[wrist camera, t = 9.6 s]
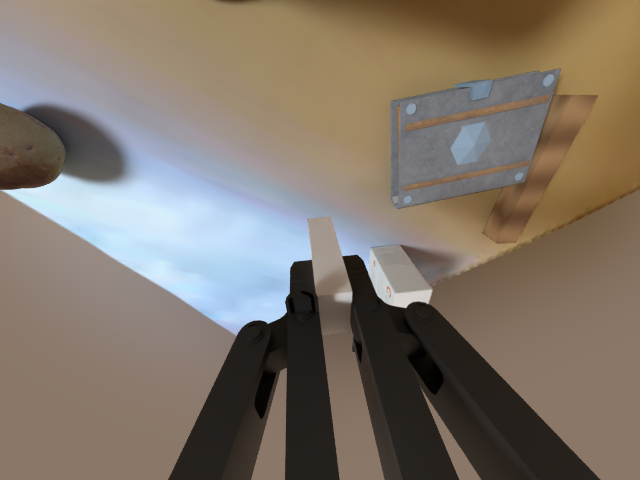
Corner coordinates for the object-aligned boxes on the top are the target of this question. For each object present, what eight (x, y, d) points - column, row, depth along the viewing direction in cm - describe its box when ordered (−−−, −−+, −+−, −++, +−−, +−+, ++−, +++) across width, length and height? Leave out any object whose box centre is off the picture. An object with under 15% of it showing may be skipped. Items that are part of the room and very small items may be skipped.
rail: (544, 95, 34) (572, 94, 31) (568, 95, 35) (598, 95, 31) (482, 233, 47) (496, 243, 44) (499, 232, 47) (515, 242, 44)
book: (390, 202, 42) (401, 214, 37) (389, 97, 33) (403, 98, 29) (503, 179, 42) (527, 188, 37) (533, 67, 33) (569, 63, 28)
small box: (395, 274, 51) (424, 323, 40) (367, 277, 50) (388, 327, 39) (400, 243, 46) (434, 289, 35) (369, 246, 46) (394, 294, 35)
